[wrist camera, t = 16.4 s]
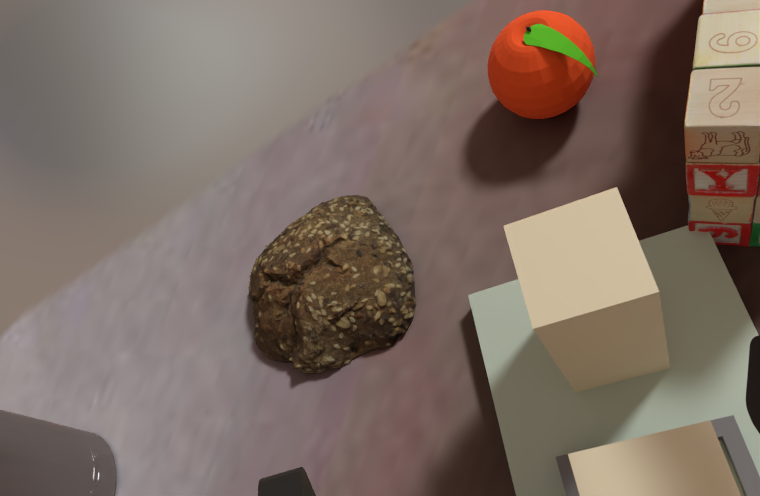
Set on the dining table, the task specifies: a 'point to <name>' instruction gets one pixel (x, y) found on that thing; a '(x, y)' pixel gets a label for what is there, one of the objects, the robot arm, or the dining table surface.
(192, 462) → the dining table surface
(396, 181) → the dining table surface
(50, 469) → the robot arm
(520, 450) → the baseplate
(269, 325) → the bread roll
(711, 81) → the stack of blocks
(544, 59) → the clementine
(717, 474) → the maple pillar
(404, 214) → the dining table surface
